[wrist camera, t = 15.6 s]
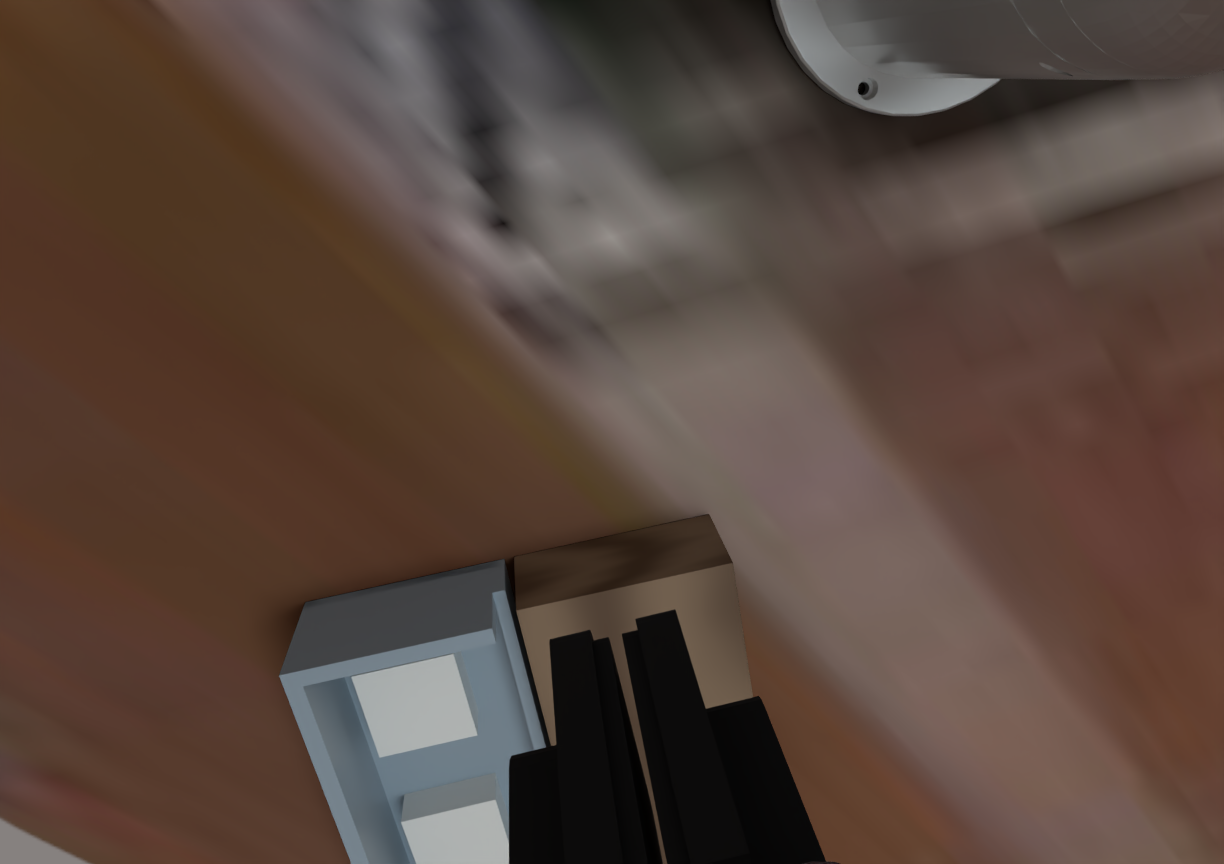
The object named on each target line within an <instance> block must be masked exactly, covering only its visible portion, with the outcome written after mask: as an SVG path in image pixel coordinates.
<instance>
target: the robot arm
mask: <svg viewBox="0 0 1224 864" xmlns="http://www.w3.org/2000/svg"><path fill="white" fill-rule="evenodd" d="M771 5H772V9H773V13H774V17H775V21H776V24H777V26H778V28H779V30H780V33H781V35H782V37H783V39H784V42H785V44H786V46H787V48H788V50H789V51H790V53H791V54H792V56H793V57H794V58H795V60H796V61H797V63H798V64H799V66H800V67H801V69H802V70H803V71H804V73H806V74H807V75H808V76H809V77H810V78H811V79H812V80H813V81H814V82H815V83H816V84H817V85H818V86H819V87H820V88H821V89H822V90H823V91H825V92H827V93H828V94H830V95H832V96H833V97H835V98H836V99H838V100H840V101H841V102H843V103H845V104H846V105H849V106H852V107H855V108H858V109H861V110H864V111H867V112H870V113H875V114H882V115H889V116H921V115H926V114H931V113H936V112H941V111H946V110H948V109H951V108H953V107H955V106H958V105H960V104H963V103H965V102H967V101H970V100H972V99H974V98H975V97H977V96H978V95H980V94H981V93H983V92H984V91H986V90H987V89H989V88H991V87H992V86H994V85H995V84H997V83H998V82H999V81H1000V80H1001V79H1080V80H1130V79H1175V78H1185V77H1193V76H1199V75H1205V74H1209V73H1213V72H1217V71H1221V70H1224V0H771ZM861 82H862V83H864V84H865V91H864V93H863V94H861V95H860V94H859V93H858V86H859V84H860V83H861ZM635 621H636V625H637V629H638V630H635V631H631V632H627V633H622V639H623V644H624V649H625V654H626V659H627V664H628V669H629V674H630V679H631V684H632V689H633V694H634V699H635V704H636V710H637V715H638V720H639V725H640V730H641V735H642V740H643V745H644V750H645V755H646V760H647V765H648V770H649V775H650V780H651V786H652V791H653V796H654V801H655V806H656V811H657V816H658V821H659V826H660V831H661V836H662V841H663V846H664V851H665V856H666V861H667V864H840V863H836V862H826V860H825V858H824V855H823V853H822V850H821V848H820V845H819V843H818V840H817V837H816V835H815V832H814V830H813V827H812V825H811V822H810V820H809V817H808V815H807V812H806V810H805V807H804V805H803V802H802V800H801V797H800V795H799V792H798V790H797V787H796V785H795V782H794V780H793V777H792V774H791V772H790V769H789V767H788V764H787V762H786V759H785V757H784V754H783V752H782V749H781V747H780V744H779V742H778V739H777V737H776V734H775V732H774V729H773V727H772V724H771V722H770V719H769V717H768V714H767V711H766V709H765V707H764V704H763V702H762V700H761V698H760V697H759V696H757V697H752V698H748V699H744V700H740V701H736V702H732V703H728V704H723V705H719V706H715V707H711V708H707V709H706V708H705V705H704V701H703V698H702V695H701V691H700V688H699V685H698V682H697V678H696V675H695V672H694V669H693V665H692V662H691V659H690V655H689V652H688V649H687V646H686V642H685V639H684V636H683V632H682V629H681V626H680V623H679V619H678V616H677V613H676V610H675V609H674V610H670V611H666V612H662V613H657V614H653V615H649V616H645V617H641V618H637V619H635ZM549 646H550V660H551V674H552V689H553V703H554V717H555V732H556V745H554V746H549V747H545V748H541V749H537V750H533V751H529V752H525V753H520V754H516V755H512V756H511V758H510V760H509V864H663V860H662V855H661V850H660V845H659V840H658V834H657V829H656V824H655V819H654V814H653V810H652V805H651V801H650V797H649V792H648V788H647V784H646V781H645V777H644V773H643V769H642V765H641V761H640V757H639V753H638V749H637V745H636V741H635V737H634V733H633V729H632V725H631V721H630V717H629V714H628V710H627V706H626V702H625V698H624V694H623V690H622V686H621V682H620V678H619V674H618V670H617V666H616V662H615V658H614V654H613V650H612V647H611V643H610V639H609V637H606V638H602V639H597V640H594V639H593V636H592V633H591V630H586V631H582V632H578V633H574V634H570V635H566V636H561V637H557V638H553V639H550V641H549Z"/></svg>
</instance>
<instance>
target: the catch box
mask: <svg viewBox="0 0 1224 864" xmlns="http://www.w3.org/2000/svg"><path fill="white" fill-rule="evenodd" d="M460 651H461V653H462V656H463V660H464V663H465V666H466V670H467V673H468V677H469V680H470V684H471V687H472V690H473V694H474V697H475V701H476V704H477V707H478V735H477V736H473V737H468V738H464V739H459V740H455V741H451V742H446V743H442V744H437V745H433V746H429V747H424V748H420V749H416V750H411V751H407V752H402V753H398V754H394V755H389V756H385V757H380V758H379V755H378V752H377V749H376V746H375V743H374V740H373V738H372V735H371V732H370V729H369V726H368V723H367V721H366V718H365V715H364V712H363V709H362V706H361V703H360V701H359V698H358V695H357V692H356V689H355V686H354V684H353V681H352V678H351V676H352V675H357V674H361V673H366V672H370V671H375V670H379V669H384V668H388V667H393V666H397V665H402V664H406V663H411V662H415V661H420V660H424V659H429V658H433V657H438V656H442V655H447V654H451V653H456V652H460ZM279 677H280V679H281V682H282V684H283V687H284V690H285V692H286V695H287V697H288V700H289V703H290V705H291V708H292V710H293V713H294V716H295V718H296V721H297V723H298V726H299V729H300V731H301V734H302V736H303V739H304V742H305V744H306V747H307V749H308V752H309V755H310V757H311V760H312V762H313V765H314V768H315V770H316V773H317V775H318V778H319V781H320V783H321V786H322V788H323V791H324V794H325V796H326V799H327V801H328V804H329V807H330V809H331V812H332V814H333V817H334V820H335V822H336V825H337V827H338V830H339V833H340V835H341V838H342V840H343V843H344V846H345V848H346V851H347V853H348V856H349V859H350V861H351V864H416V862H415V859H414V856H413V854H412V851H411V848H410V846H409V843H408V840H407V837H406V835H405V832H404V829H403V826H402V824H401V818H402V810H403V802H404V794H408V793H412V792H417V791H421V790H425V789H429V788H433V787H438V786H442V785H446V784H450V783H454V782H459V781H463V780H467V779H471V778H475V777H480V776H484V775H488V774H492V773H496V776H497V780H498V783H499V786H500V789H501V793H502V796H503V799H504V802H505V806H506V809H507V812H508V815H509V760H510V758H511V756H512V755H516V754H520V753H525V752H529V751H533V750H537V749H541V748H545V747H549V746H551V743H550V740H549V736H548V732H547V728H546V724H545V720H544V716H543V712H542V709H541V705H540V701H539V697H538V693H537V689H536V685H535V681H534V677H533V674H532V670H531V666H530V662H529V658H528V654H527V650H526V646H525V643H524V639H523V635H522V631H521V627H520V623H519V619H518V615H517V612H516V603H515V599H514V595H513V591H512V587H511V583H510V580H509V576H508V572H507V568H506V564H505V560H504V559H502V560H497V561H493V562H488V563H483V564H479V565H474V566H470V567H465V568H460V569H456V570H451V571H447V572H442V573H438V574H433V575H428V576H424V577H419V578H415V579H410V580H405V581H401V582H396V583H392V584H387V585H383V586H378V587H373V588H369V589H364V590H360V591H355V592H350V593H346V594H341V595H337V596H332V597H328V598H323V599H318V600H314V601H309V602H305V604H304V607H303V610H302V613H301V616H300V618H299V621H298V624H297V627H296V630H295V632H294V635H293V638H292V641H291V644H290V646H289V649H288V652H287V655H286V658H285V660H284V663H283V666H282V669H281V672H280V674H279Z"/></svg>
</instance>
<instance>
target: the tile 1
mask: <svg viewBox="0 0 1224 864" xmlns="http://www.w3.org/2000/svg"><path fill="white" fill-rule="evenodd" d="M351 678H352V681H353V684H354V686H355V689H356V692H357V695H358V698H359V701H360V703H361V706H362V709H363V712H364V715H365V718H366V721H367V723H368V726H369V729H370V732H371V735H372V738H373V740H374V743H375V746H376V749H377V752H378V755H379V758H380V757H385V756H389V755H394V754H398V753H402V752H407V751H411V750H416V749H420V748H424V747H429V746H433V745H437V744H442V743H446V742H451V741H455V740H459V739H464V738H468V737H473V736H477V735H478V707H477V704H476V701H475V697H474V694H473V690H472V687H471V684H470V680H469V677H468V673H467V670H466V666H465V663H464V660H463V656H462V653H461V651H460V652H456V653H451V654H447V655H442V656H438V657H433V658H429V659H424V660H420V661H415V662H411V663H406V664H402V665H397V666H393V667H388V668H384V669H379V670H375V671H370V672H366V673H361V674H357V675H352V676H351Z"/></svg>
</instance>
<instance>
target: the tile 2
mask: <svg viewBox="0 0 1224 864" xmlns="http://www.w3.org/2000/svg"><path fill="white" fill-rule="evenodd" d="M401 824H402V826H403V829H404V832H405V835H406V837H407V840H408V843H409V846H410V848H411V851H412V854H413V856H414V859H415V862H416V864H509V815H508V812H507V809H506V806H505V802H504V799H503V796H502V793H501V789H500V786H499V783H498V780H497V776H496V773H492V774H488V775H484V776H480V777H475V778H471V779H467V780H463V781H459V782H454V783H450V784H446V785H442V786H438V787H433V788H429V789H425V790H421V791H417V792H412V793H408V794H404V802H403V810H402V818H401Z"/></svg>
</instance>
